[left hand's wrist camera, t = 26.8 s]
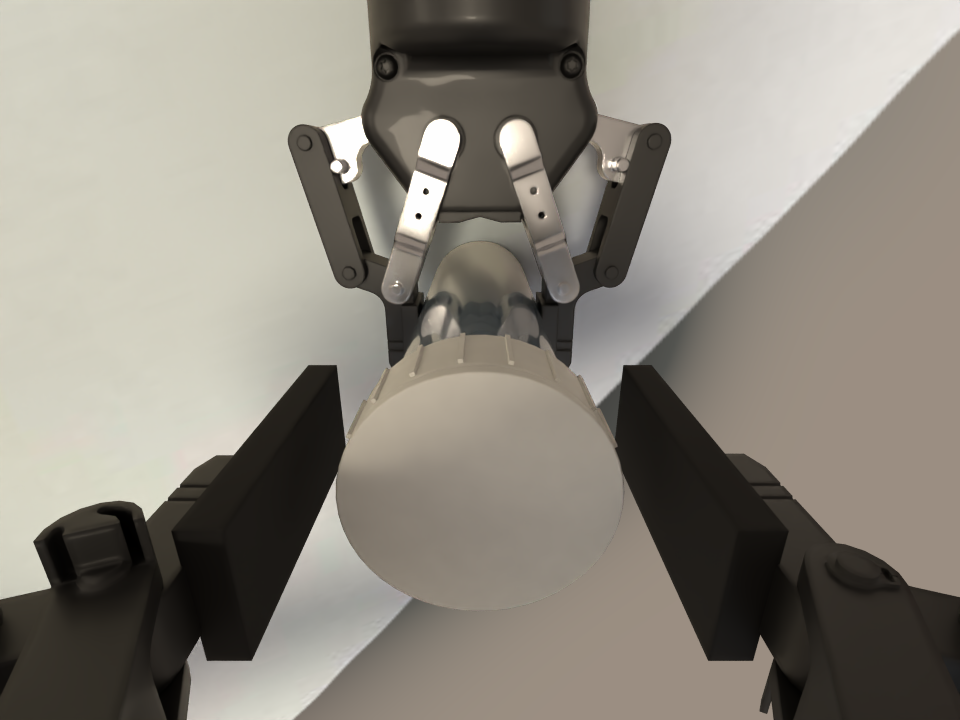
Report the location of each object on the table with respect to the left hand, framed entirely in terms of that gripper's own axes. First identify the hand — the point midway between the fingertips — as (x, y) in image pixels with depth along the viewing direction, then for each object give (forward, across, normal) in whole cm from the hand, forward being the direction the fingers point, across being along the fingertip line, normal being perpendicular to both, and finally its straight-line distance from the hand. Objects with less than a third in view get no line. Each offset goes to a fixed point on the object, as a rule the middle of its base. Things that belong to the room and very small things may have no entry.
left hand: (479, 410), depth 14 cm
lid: (-4, 0, 0) cm, 4 cm away
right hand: (+8, 0, -3) cm, 9 cm away
